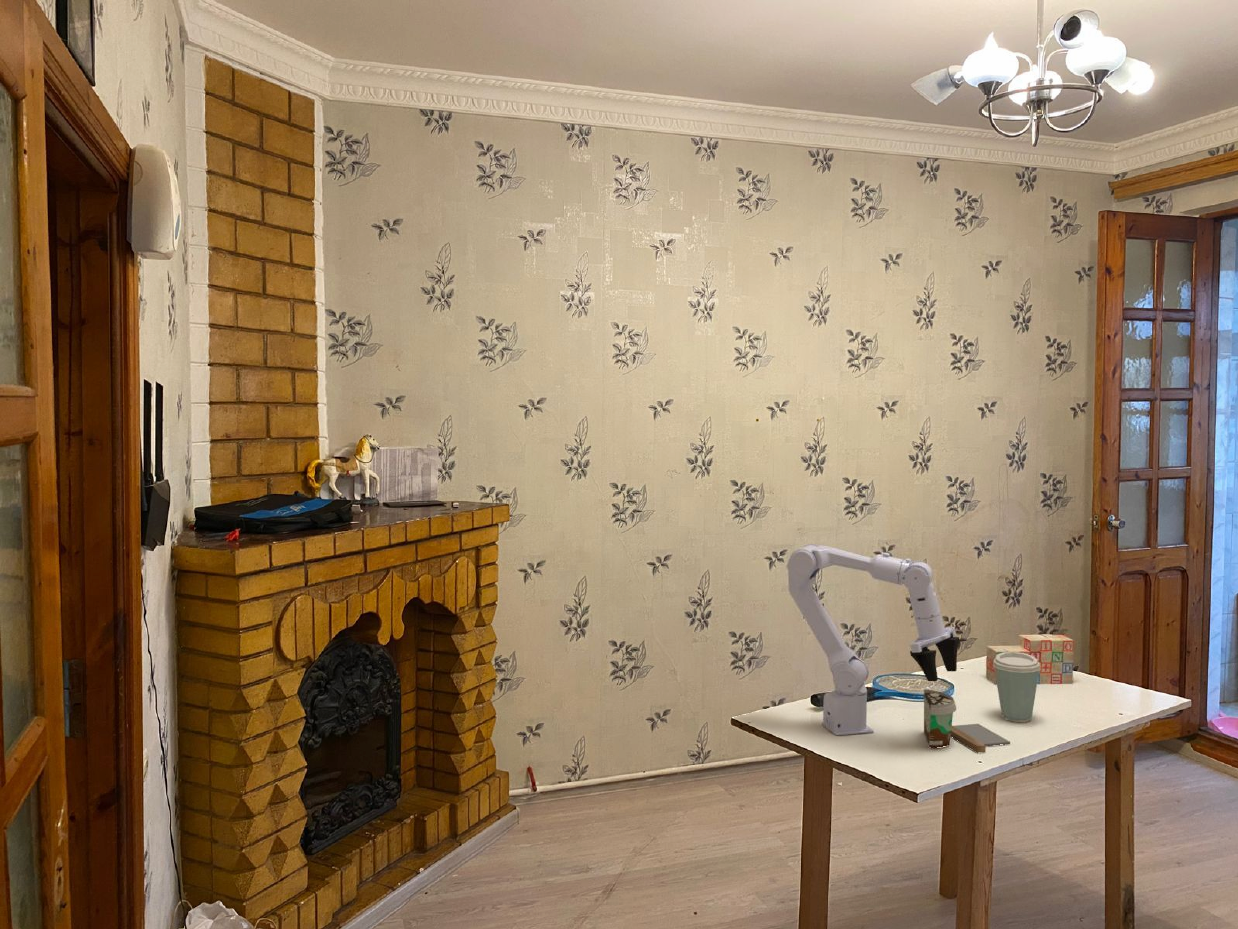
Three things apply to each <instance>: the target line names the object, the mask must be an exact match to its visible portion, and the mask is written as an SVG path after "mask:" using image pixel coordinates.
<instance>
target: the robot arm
mask: <svg viewBox="0 0 1238 929" xmlns="http://www.w3.org/2000/svg"><path fill="white" fill-rule="evenodd" d="M831 566H837V567H843V568H848V569H852V570H853V569H854V570H858V571H862V572H863V571H864V572H868V573H869V574H870V576H871V577H872V578H873V579H874V580H878V581H882V582H886V583H891V584H895V585H899V586H902V585H904V587H905V588H907V590H908V594H909V599H910V600H909V601H910V605H911V609H912V613H913V616H914V621H915V626H916V629H917V630H916V631H917V633H918V637H917V638H916V639H915V640H914V641H913V642H911V643H910V644H909V645H910V649H911V650H910V651H909V653H910V656H911V658H913V659H914V661H915V662H916V663H917V664H918V666H919V667H920V669H921V671H922V672H923V674H924V676H925V678H926V680H927V681H928V682H937V681H938V671H937V665H936V663H937V662H936V656H937V650H936V649H938V651H939V653H940V655H941V658H942V661H943V664H944V668H945V670H946V672H957V671H958V670H957V669H958V668H957V667H958V666H957V663H958V662H957V660H958V649H959V646H960V643H961V639H960V637H958V636H957V632H956V628H955V626H946V627H945V625H944V622H943V621H944V620H943V618H942V612H941V609H940V604H939V600H938V597H937V593H936V591H935V586H934V584H933V582H932V580H933V576H934V574H933V569H932V568H931V566H930V565H929V564H928V563H926V562H923V561H921V560H914V561H912V559H911V558H905V559H902V558H898V557H894V556H891V554H890V553H888V552H884V553H882V554H876V555H874V556H873V557H870V556H866V555H861V554H857V553H855V552H850V551H847V550H843V549H840V548H836V547H831V546H828V545H821V544H820V545H817V544H816V543H815V544H814V543H810V544H809V543H808V544H805V545H804V546H803V547H800V548H797V549H796V550H794V551H793V552H792V553H791V555H790V556H789V558H788V562H787V564H786V568H787V573H788V574H787V575H788V576H787V577H788V579H787V580H788V591H789V594H790V595H791V598H792V599H793V601H794V603H795V604H796V606H797V607H798V609H799V611H800V613H801V615H802V616H803V617H804V619H805V621H806V623H807V625H808V627H809V628H810V630H811V631H812V633H813V635H814V636H815V639H816V640H817V642H818V644H819V645H820V647H821V649H822V650H823V652H824V654H825V655H826V657H827V659H828V668H829V670H830V672H831V674H832V679H833V680H832V681H833V685H834V690H832V691H829V692H825V693H824V696H823V703H822V704H823V711H822V713H823V714H822V716H823V718H822V722H821V725H822V726H823V727H825V728H826V729H827V730H829V731H830V732H831V733H833V734H834V735H835V736H844V735H855V734H856V735H858V734H868V733H870V734H871V733H874V729H873V728H871V726H868V724H867V714H868V713H867V711H868V710H867V709H868V708H867V707H868V706H867V705H868V704H867V703H868V699H867V698H868V689H867V687H866V684H865V682H866V681H867V679H868V678H869V674H870V671H869V667H868V665H867V663H866V662H865V661H863V660H862V659H860V658H859V657H858V656H857V655H856V652H855V651H854V650H852V648H850V647H849V646H847V644H846V641H845V640H844V639H843V637H842V635H841V634H840V632H839V630H838V629H837V627H836V625H835V623H834V622H833V620H832V618H831V617H830V615H829V614H828V612H827V610H826V608H825V607H824V606H823V603H822V601H821V600H820V598H819V597H818V595H817V593H816V591H815V590H814V588H813V587H814V586H813V585H814V584H815V583H814V582H815V580H816V577H817V574H818V573H819V571H820V570H822V569H826V568H829V567H831ZM934 645H935V646H936V649H935V650H933V649H932V650H930V647H931V646H934Z"/></svg>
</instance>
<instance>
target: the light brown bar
mask: <svg viewBox="0 0 1238 929" xmlns="http://www.w3.org/2000/svg"><path fill="white" fill-rule="evenodd" d="M953 726H954V725H952V727H951V738H952V737H953V738H954V740H955V739H956V740H955V741H957V740H958V741H959V742H958V741H957V742H958V743H959V744H961V745H963V744H964V746H965V747H966V746H968V747H969V748H968V747H967V748H968V749H970V748H971V749H973V750H974V751H976V752H977V753H976V752H975V753H976V754H979V753H978V752H985V753H986V749H987V748H986V746H985V745H984V744H982V743H980V742H979V741H977V740H975V739H974V738H972V737H970V736H969V735H967V734H965V733H964V732H962V731H960V730H958V729H957V728H955V727H953ZM953 738H952V739H953ZM971 749H970V750H971ZM973 750H972V751H973ZM974 751H973V752H974Z"/></svg>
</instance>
